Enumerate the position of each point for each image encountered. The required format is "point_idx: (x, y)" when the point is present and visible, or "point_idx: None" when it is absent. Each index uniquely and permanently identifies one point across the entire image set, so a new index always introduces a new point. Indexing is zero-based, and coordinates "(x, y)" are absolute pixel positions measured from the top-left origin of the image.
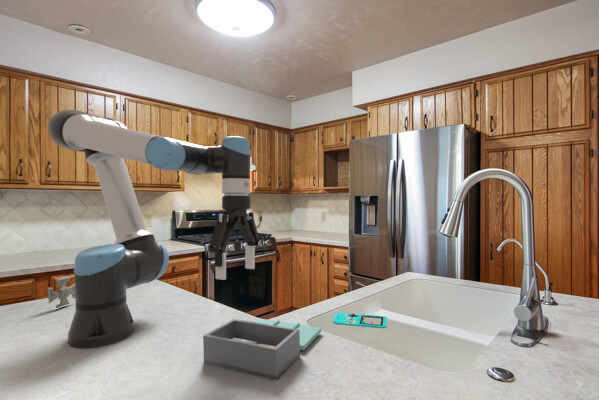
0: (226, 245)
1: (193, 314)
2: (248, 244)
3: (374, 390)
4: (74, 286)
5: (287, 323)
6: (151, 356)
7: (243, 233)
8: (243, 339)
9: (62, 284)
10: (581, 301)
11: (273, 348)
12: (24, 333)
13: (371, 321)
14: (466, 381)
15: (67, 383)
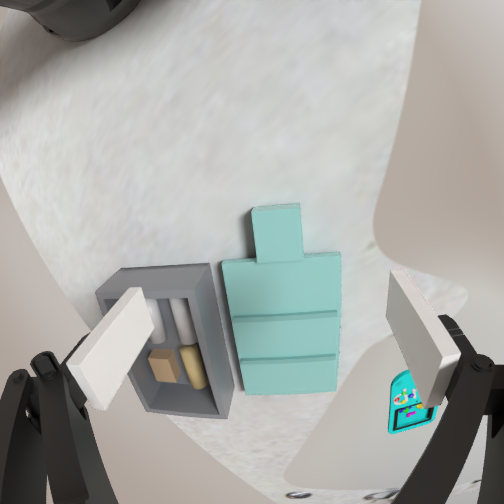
0: (93, 443)
1: (309, 16)
2: (458, 374)
3: (211, 450)
4: None
5: (335, 333)
6: (83, 158)
7: (402, 487)
8: (183, 319)
9: None
10: (479, 486)
11: (145, 408)
12: None
13: (414, 413)
14: (272, 486)
15: (4, 142)
